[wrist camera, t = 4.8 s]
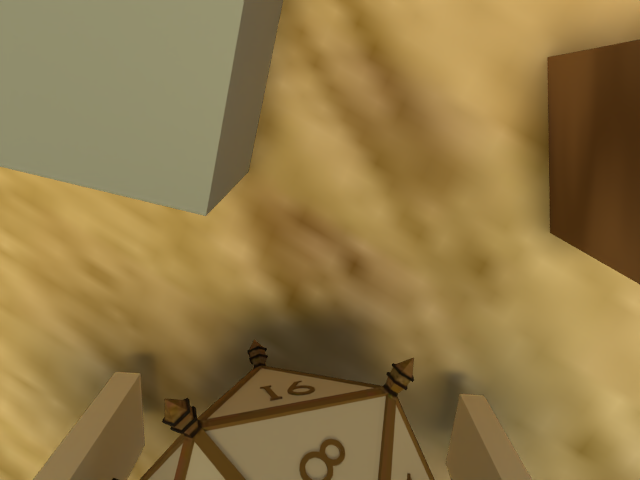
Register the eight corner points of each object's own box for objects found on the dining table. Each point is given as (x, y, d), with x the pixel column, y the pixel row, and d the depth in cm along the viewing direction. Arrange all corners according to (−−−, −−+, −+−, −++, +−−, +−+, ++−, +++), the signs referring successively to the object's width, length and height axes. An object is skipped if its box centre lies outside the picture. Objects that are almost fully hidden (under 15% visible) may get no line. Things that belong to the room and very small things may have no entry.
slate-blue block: (248, 171, 12) (205, 216, 8) (74, 127, 12) (-84, 146, 7) (287, -18, 11) (263, -108, 6) (89, -75, 11) (-99, -218, 6)
